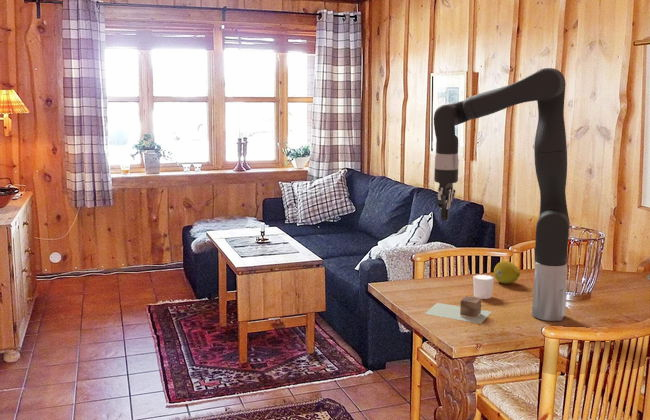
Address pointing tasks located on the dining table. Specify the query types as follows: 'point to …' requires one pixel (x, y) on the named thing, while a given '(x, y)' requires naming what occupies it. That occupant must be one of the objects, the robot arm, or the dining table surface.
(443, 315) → the rubber mat
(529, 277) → the dining table surface
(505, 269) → the lemon
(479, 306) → the copper block
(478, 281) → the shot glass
